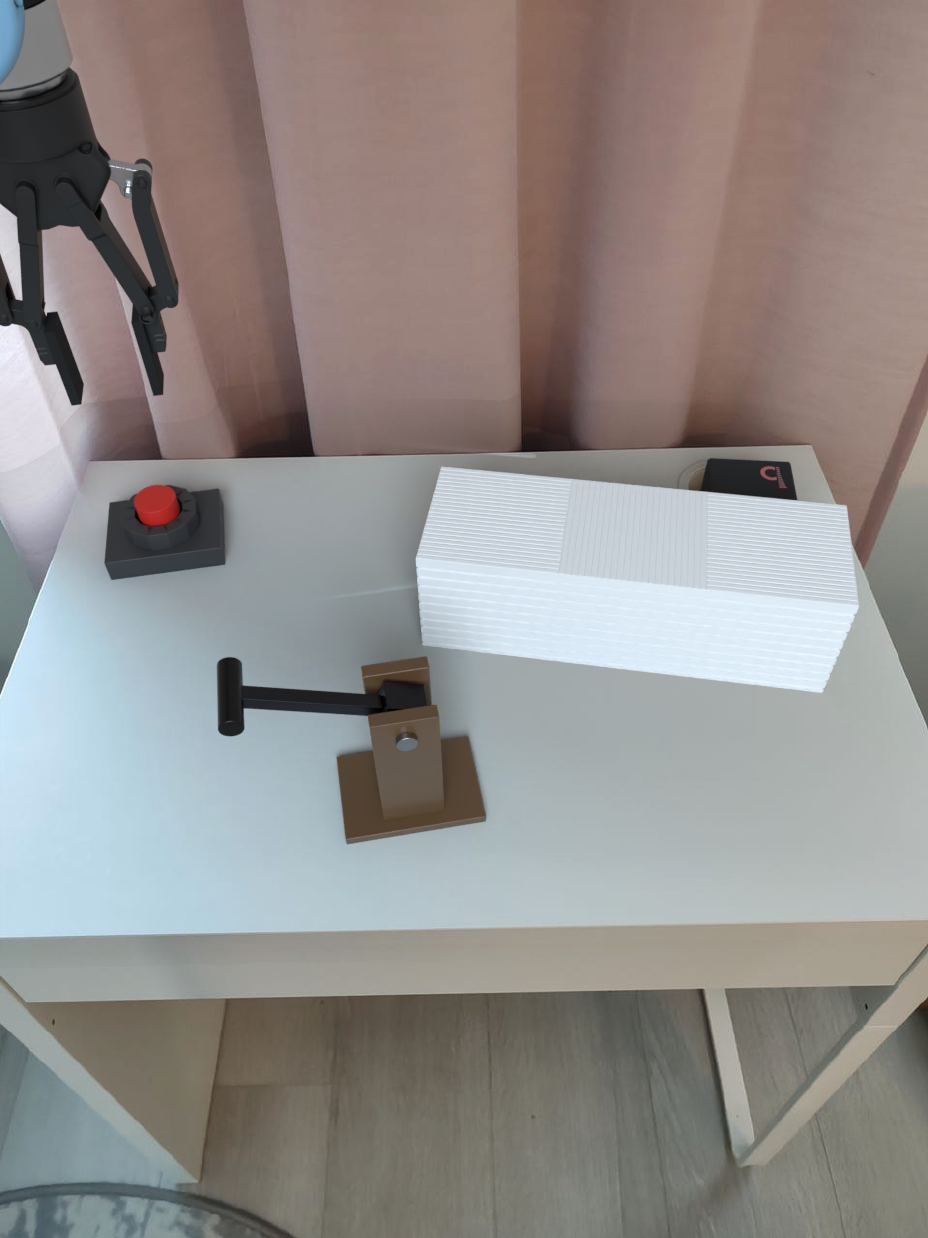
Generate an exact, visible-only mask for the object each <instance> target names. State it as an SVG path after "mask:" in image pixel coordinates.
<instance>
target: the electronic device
mask: <svg viewBox="0 0 928 1238" xmlns="http://www.w3.org/2000/svg"><path fill="white" fill-rule="evenodd" d="M700 491H704V492H714V493H724V494H735V495H745V496H756V497H766V498H776V499H787V500H797V501H799V500H798V496H797V490H796V486H795V480H794V475H793V470H792V465H791V462H790V461H777V460H760V459H759V460H758V459H757V460H756V459H736V458H718V457H717V458H715V457H714V458H713V457H712V458H711V457H710V458H708V459H707V460H706V465H705V469H704V473H703V479H702V482H701V487H700Z"/></svg>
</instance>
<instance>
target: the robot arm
mask: <svg viewBox="0 0 928 1238" xmlns="http://www.w3.org/2000/svg"><path fill="white" fill-rule="evenodd" d="M73 60H74V57H73V51H72V49H71V46H70V41H69V38H68V35H67V32H66V28H65V24H64V20H63V17H62V13H61V11H60V7H59V4H58V1H57V0H0V205H1V206H2V207H3V208H4V209H6V210H7V211H9V212H10V213H11V214H12V215H13V216H14V217H16V229H17V231H16V232H17V243H18V246H19V265H20V282H21V284H20V285H21V299H17V298H16V295H15V293H14V290H13V287H12V284H11V280H10V278H9V275H8V272H7V269H6V265H5V263H4V259H3V258H2V254H1V253H0V326H2V327H9V326H11V325H17V326H21V327H23V328H24V329H26V331H27V332H28V333H29V336H30V338H31V341H32V343H33V346H34V348H35V351H36V354H37V356H38V358H39V361H40V362H41V363H42V364H43V365H44V366H53V365H55V366H56V370H57V372H58V374H59V377H60V379H61V382H62V385H63V387H64V390H65V392H66V395H67V397H68V401H69V403H70V406H81V405H82V403H83V395H84V387H85V383H84V381H83V378H82V375H81V372H80V369H79V366H78V363H77V361H76V359H75V356H74V353H73V350H72V348H71V345H70V341H69V339H68V336H67V333H66V331H65V328H64V326H63V323H62V320H61V318H60V314H59V313H58V311H49V312H46V311H45V310H46V309H45V308H46V303H47V302H46V301H45V299H46V298H45V275H44V273H45V272H44V249H43V248H44V247H43V231H47V230H51V229H55V228H57V227H60V226H61V227H70V228H75V227H76V228H78V227H79V229H80V230H81V231H82V233H83V235H84V236H85V238H86V239H87V240H88V241H90V242H91V243H92V244H93V246H94V247H95V249H96V250H97V252H98V253H99V255H100V256H101V258H102V259H103V261H104V262H105V264H106V266H107V268H109V270H110V272H111V273H112V274H113V276H114V278H115V279H116V281H117V282H118V284H119V285H120V287H121V288H122V290H123V292H124V293H125V295H126V296H127V298H128V299H129V301H130V302H131V304H132V309H131V319H130V320H131V321H130V324H131V326H132V327H131V328H132V330H133V333H134V336H135V340H136V343H137V346H138V350H139V353H140V357H141V359H142V362H143V366H144V369H145V373H146V377H147V379H148V382H149V385H150V390H151V393H152V396H153V397H155V396H156V397H158V396H164V387H165V385H164V384H165V373H164V370H163V366H162V363H161V360H160V356H159V353H165V352H166V351H167V342H168V340H167V339H168V336H167V335H168V334H167V331H166V327H165V325H164V321H163V317H162V313H161V312H162V311H163V310H164V309H167V308H168V309H174V308H176V307H177V306H179V293H180V292H179V291H180V287H179V280H178V276H177V273H176V270H175V267H174V263H173V260H172V257H171V253H170V250H169V247H168V244H167V241H166V238H165V233H164V231H163V228H162V225H161V220H160V218H159V214H158V211H157V208H156V205H155V204H156V203H155V201H154V197H153V194H152V187H153V186H152V185H153V184H152V183H153V165H152V163H151V161H149V160H148V159H146V158H138V159H136V161H135V162H134V163H132V162H126V161H122V160H116V159H111V156H110V155H109V153H108V151H106V149H104V147H103V146H102V145H101V144H100V142H99V140H98V138H97V135H96V132H95V129H94V125H93V122H92V118H91V115H90V111H89V108H88V104H87V101H86V97H85V94H84V91H83V87H82V84H81V81H80V77H79V75H78V74H77V72H76V71H75V70H73V69H72V68H71V65H72V63H73ZM109 181H113V182H114V183H116V185H117V186H118V188H119V192H120V194H121V195H122V197H124V198H125V199H126V200H128V201H130V200H131V210H132V213H133V218H134V222H135V225H136V228H137V231H138V234H139V237H140V241H141V243H142V247H143V249H144V253H145V255H146V256H145V257H146V259H147V262H148V265H149V268H150V271H151V274H152V277H153V280H154V283H155V285H152V283H151V282H150V280H149V279H148V277H147V275H146V274H145V272H144V270H143V269H142V268H141V265H139V263H138V261H137V259H136V258H135V256H134V254H133V253H132V252H131V250H130V248H129V247H128V245H127V244H126V242H125V240H124V239H123V237H122V236H121V234H120V232H119V231H118V229H117V228H116V226H115V224H114V223H113V221H112V220H111V217H110V215H109V212H108V210H107V208H106V206H105V205H104V203H103V201H102V197H103V195H104V194H105V191H106V188H107V187H108V184H109Z"/></svg>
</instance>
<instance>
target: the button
mask: <svg viewBox="0 0 928 1238" xmlns="http://www.w3.org/2000/svg"><path fill="white" fill-rule="evenodd" d="M166 485H167V484H153V485H149V486H146V487H144V488H142V489H141V490H139V492H137V493H138V494H137V493H136V494H137V495H136V496H135V499H134V505H135V508H136V511H137V513H138V516H139V519H140V521H141V522H142V523H144V524H145V525H148V526H159V525H165V524H167V523H169V522H171V521H173V520H175V519H176V518H177V517H178V515H179V513H180V507H179V504H178V500H177V497H176V494H175V492H174V490H173V489H172V488H170V487H168V486H166Z"/></svg>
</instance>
